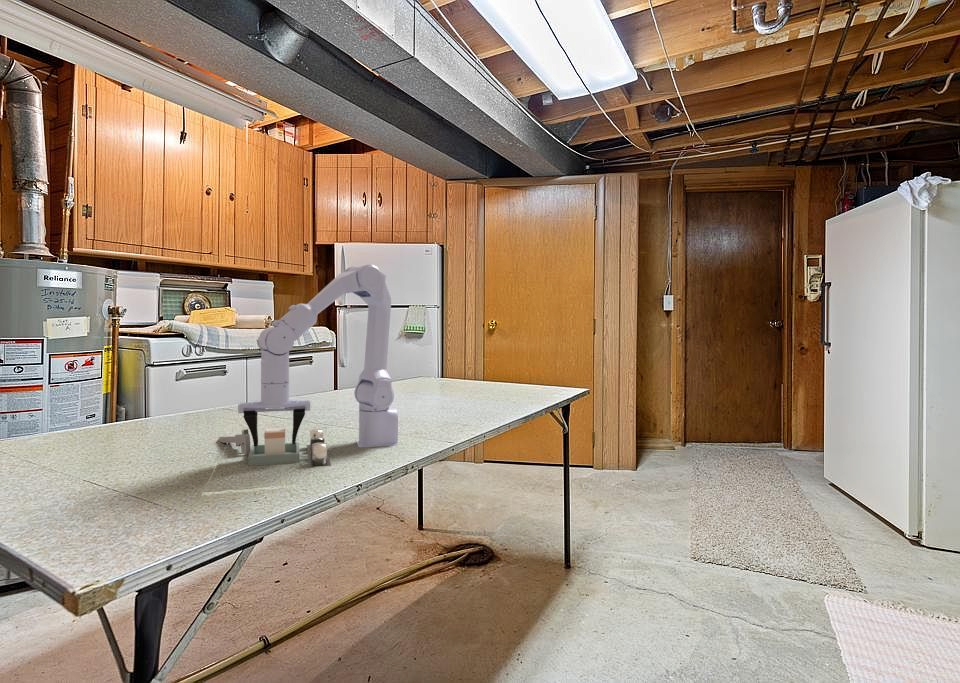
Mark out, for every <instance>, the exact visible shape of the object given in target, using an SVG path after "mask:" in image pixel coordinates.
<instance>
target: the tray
mask: <svg viewBox="0 0 960 683" xmlns="http://www.w3.org/2000/svg"><path fill="white" fill-rule="evenodd" d="M300 454H301V453H300V442H296V444H292V442H285V454H273V455H265V444H258V446H254V444H253V445H252V444H251V446H250V453H249V455H247V456H248V457H247V458H248V460H247V461H248V462H247V465H248V466H249V467H251V466H261V465H262V466H263V465H275V464H276V465H277V464H287V463H289V464H290V463H291V464H292V463H300V458H301V457H300Z"/></svg>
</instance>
